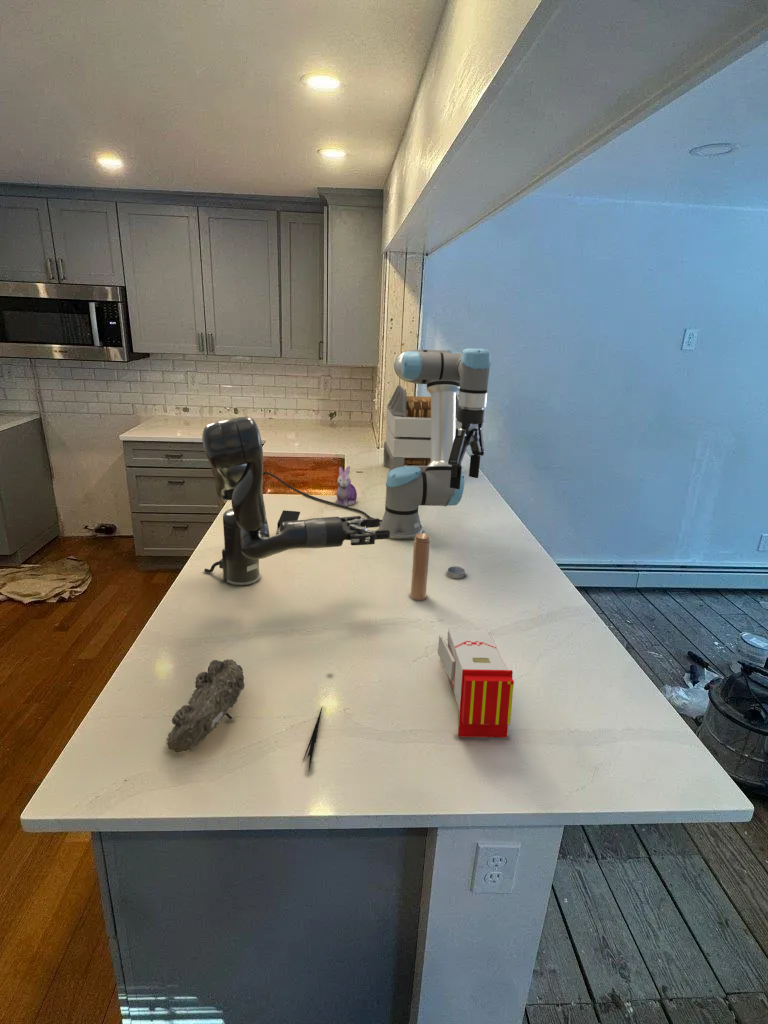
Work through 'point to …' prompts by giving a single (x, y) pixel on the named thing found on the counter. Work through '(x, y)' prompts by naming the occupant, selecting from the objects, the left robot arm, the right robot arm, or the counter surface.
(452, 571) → the lid
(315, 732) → the feather
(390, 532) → the right robot arm
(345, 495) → the figurine
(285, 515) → the black wheeled rover
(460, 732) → the toy
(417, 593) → the jar
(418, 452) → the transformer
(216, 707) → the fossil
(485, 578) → the counter surface
